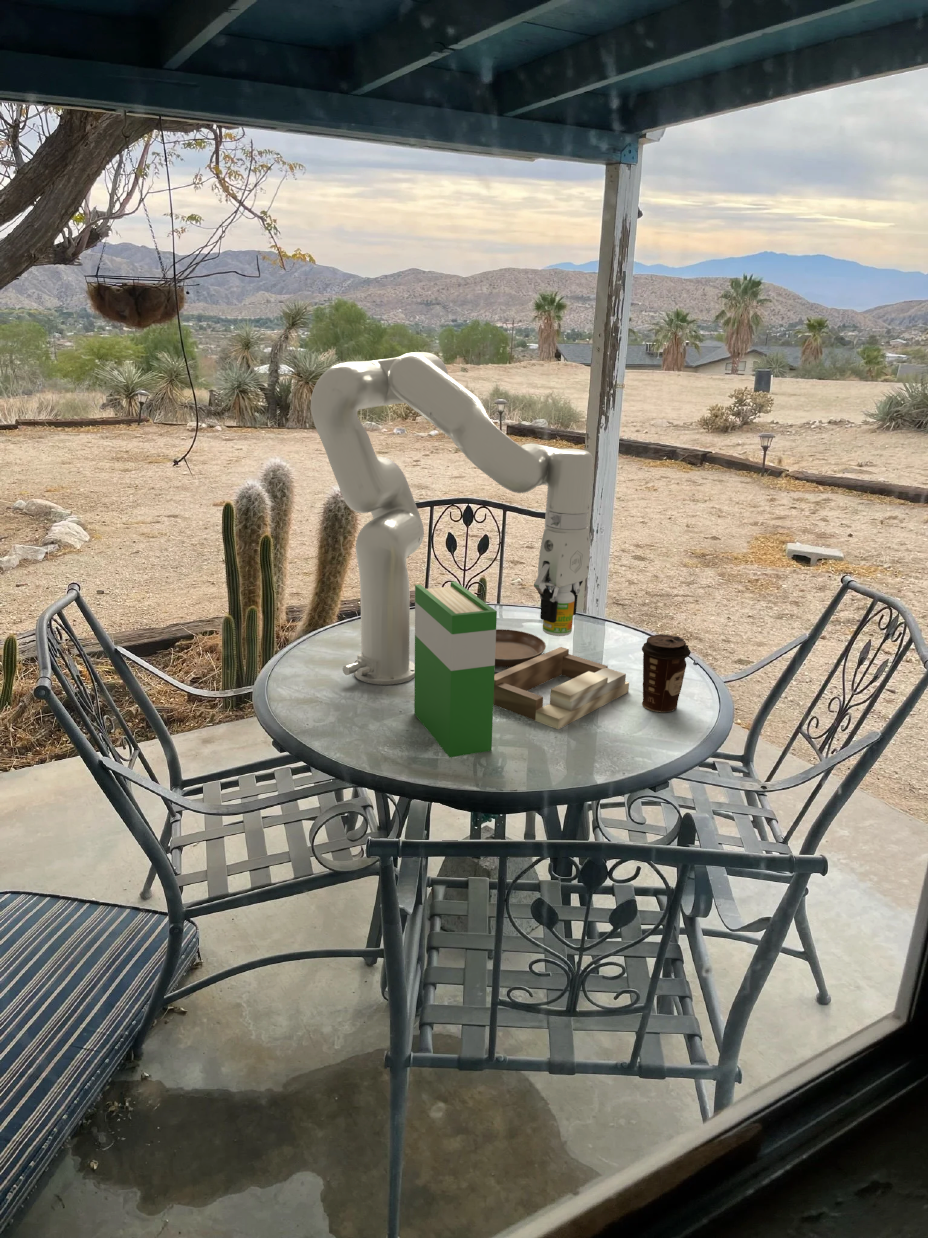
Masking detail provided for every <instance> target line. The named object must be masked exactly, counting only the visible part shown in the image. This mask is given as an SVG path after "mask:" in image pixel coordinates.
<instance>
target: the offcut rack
mask: <svg viewBox="0 0 928 1238" xmlns="http://www.w3.org/2000/svg"><path fill="white" fill-rule="evenodd" d="M569 649H570V648H566V647H563V646H560V647H557V648H554V649H552V650H551V651H550V650H549V651H548V652H545V653H542V654H541V655H540V656H538V657H535V658H533V659H530V660H528V661H526V662H523V663H521V664H518V665H516V666H514V667H508V668H507V669H504V670H502V671H499V672H497V673H494V700H493V706H495V707H498V708H500V707H501V708H500V709H503V710H505V709H506V711H509V712H511V713H513V714H517V715H519V716H521V717H524V718H527V719H529V720H532V721H534V722H538V723H539V724H542V725H546V726H549V727H551V728H553V729H556V730H560V729H561V728H562V729H563V728H564V727H566V726H568V725H570V724H571V723H574V722H576V721H577V720H579V719H581V718H582V717H584V716H587V715H588V714H591V713H592V712H594V711H596V710H597V709H599V708H601V707H603V706H605V705H607V704H609V703H611V702H612V701H615V700H616V699H619V698H620V697H622V696H624V695H625V694H627V693H629V690H630V689H629V687H630V682H628V681H626V680H627V679H626V678H627V674H626V673H624V672H621V671H618V670H615V669H612V668H609V667H608V665H605V664H603V663H600V662H596V661H593V660H590V659H586V658H583V657H579V656H577V655H574V654H570V652H569V651H570V650H569ZM560 675H561V676H563V677H567V678H568V679H569V678H570V679H569V680H567V681H565V682H562V683H560V684H559V685H556V686H555V687H552V688H550V695H549V704H546V705H544V696H542V695H539V694H537V693H534V692H531V690H532V689H534V688H536V687H538V686H541V685H543V684H545V683H547V682H549V681H551V680H555V679H557V678H558V677H560Z"/></svg>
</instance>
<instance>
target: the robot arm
mask: <svg viewBox="0 0 928 1238" xmlns="http://www.w3.org/2000/svg"><path fill="white" fill-rule="evenodd" d="M399 404H406V405H407V406H409V407H410V408H411V409H413V411H415V412H417V413H418V414H419V415H420V416H421V417H423V418H424V419H425V420H427V421H429V423H431V424H432V425H433V426H435V428H437V429H438V430H439V431H441V433H442V432H443V433H444V434H445V435H446V436H448V437H449V438H450V440H452V442H453V444H454V445H455V446H456V447H457V448H458V449H459V450H460V451H461V452H462V453H463V455H464V456H465V457H466V458H467V459H468V460H469V461H470V463H472V464H473V465H474V466H475V467H476V468H477V469H479V470H480V471H481V472H482V473H484V474H485V475H486V476H487V477H489V478H491V479H492V480H493V481H494V482H495V483H497V484H498V485H499V486H501V487H503V488H504V489H506V490H508V491H510V492H512V493H517V494H526V493H529V492H531V491H532V490H533V491H534V489H535V488H537V487H540V486H547V494H546V506H545V515H544V517H545V519H544V529H543V534H542V538H541V544H540V549H539V555H538V564H537V565H538V566H537V578H536V580H535V581H534V583H533V587H534V588H535V590H536V591H537V593H538V595H539V598H540V599H541V604H540V620H542V621H543V620H545V621H548V622H552V623H554V622H556V618H557V606H558V602H557V601H555V600H556V597H557V593H558V590H559V587H564V586H568V585H571V584H572V590H571V591H570V592H571V593H573V594H574V597H575V601H574V611H573V617H574V616H576V614H577V607H578V595H579V594H580V591H581V588H580V587H581V585H582V584H583V581H584V580H586V579H587V578H588V576H589V568H590V549H591V548H590V545H591V544H590V531H589V527H588V523H589V511H590V500H591V492H592V491H591V489H592V481H593V478H592V477H593V471H594V470H593V467H594V457H593V455H592V453H591V452H589V451H588V450H586V449H578V448H555V447H552V446H551V447H550V446H546V445H543V444H537V443H526V444H522V445H520V444H519V443H517V442H516V441H515V440H513V439H512V438H511V437H510V436H508V435H507V434H506V433H505V432H504V431H502V430H501V429H500V428H498V427H497V425H496V424H495V423H494V422H493V421H492V420H491V418H490V417H489V416H488V414H487V412H486V409H485V406H484V404H483V402H482V401H481V399H480V398H479V396H477V395H476V394H474V393H473V392H472V391H471V390H469V389H467V388H466V386H464V385H463V384H461V383H460V382H459V381H457V380H456V379H454V377H452V376H451V375H449V372H448V369H447V367H446V364H445V363H444V361H443V360H442V359H441V358H440V357H439V356H437V355H435V354H433V353H432V352H426V351H425V352H423V351H421V352H419V351H418V352H416V351H415V352H413V351H412V352H407V353H404V354H401V355H400V356H397V357H391V358H390V357H389V358H383V359H375V360H374V359H373V360H364V361H363V360H362V361H361V360H360V361H346V362H345V361H344V362H340V363H337V364H335V365H333V366H331V367H329V368H328V369H326V370H325V371H324V372H323V373H322V374H321V376H320V377H319V378H318V380H317V381H316V383H315V385H314V387H313V390H312V393H311V397H310V412H311V413H310V414H311V416H312V417H311V418H312V421H313V424H314V427H315V429H316V432H317V434H318V437H319V439H320V441H321V444H322V446H323V448H324V451H325V453H326V455H327V456H326V457H327V459H328V462H329V464H330V467H331V469H332V472H333V474H334V477H335V480H336V483H337V485H338V488H339V490H340V493H341V496H342V498H343V501H344V503H345V504H346V506H348V508H349V509H351V510H352V511H354V512H356V513H360V514H367V513H370V514H371V516H372V518H373V519H371V520H369V521H368V522H367V523H366V524H365V525H363V526H362V528H361V530H360V531H359V532H358V534H357V536H356V542H355V554H356V561H357V566H358V573H359V589H360V592H359V593H360V594H359V595H360V636H361V637H360V641H361V642H360V644H361V647H360V648H361V652H360V653H358V654H357V655H356V656H357V658H356V659H357V660H355V661H354V662H353V663H349V664H346V665H343V666H342V673H343V674H344V675H345V676H349V675H352V674H353V675H354V677H356V679H358V680H359V681H361V682H363V683H367V684H372V685H379V686H380V685H381V686H382V685H383V686H384V685H386V686H387V685H389V686H390V685H398V684H402V683H406V682H409V681H411V680H412V679H415V662H413V661H411V660H410V629H411V628H410V625H411V624H410V618H411V617H410V614H411V613H410V610H411V609H410V607H411V605H410V602H411V600H410V597H411V596H410V591H411V590H410V575H409V571H408V567H407V558H408V557H410V556H411V555H413V554H414V553H415V552H416V551H417V550H419V548H420V547H421V546H422V543H423V540H424V537H425V529H424V524H423V521H422V517H421V514H420V512H419V509H418V507H417V503H416V501H415V499H414V496H413V494H412V490H411V487H410V485H409V482H408V480H407V478H406V475H405V474H404V472H403V470H402V469H401V467H400V466H399V465H398V464H397V463H396V462H395V461H394V460H392V459H391V458H388V457H384V456H377V454H376V452H375V449H374V448H373V445H372V441H371V439H370V436H369V433H368V432H367V430H366V428H365V427H364V425H363V424H362V422H361V421H360V419H359V417H358V416H359V415H358V411H359V410H364V409H371V408H376V407H383V406H390V405H391V406H392V405H399ZM550 581H551V582H552V583H550ZM550 586H551V587H553V589H552V592H550V590H551V589H550Z"/></svg>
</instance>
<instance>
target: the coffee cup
mask: <svg viewBox="0 0 928 1238" xmlns="http://www.w3.org/2000/svg"><path fill="white" fill-rule="evenodd" d="M641 651H642V652H643V654H642V655H643V656H642V657H643V659H642V702H641V705H642V707H644V708H645V709H647V710H649V711H652V712H656V713H669V712H674V711H675V710H676V709H677V707H678V702H679V698H680V694H681V691H682V687H683V682H684V678H685V672H686V668H687V662H686V659H687V658H688V657H689V656H690V655H691V654H692V651H691V649H690V648H689V645H688V644H687V643H686V640H685V639H684V638H682V637H680V636H678V635H670V634H660V633H659V634H654V635H650V636H648V637H647V639H646V642H644V643H643V645H642V647H641Z"/></svg>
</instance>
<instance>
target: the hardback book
mask: <svg viewBox="0 0 928 1238" xmlns="http://www.w3.org/2000/svg"><path fill="white" fill-rule="evenodd" d="M414 586H415V587H414V664H415V677H414V695H413V696H414V699H413V700H414V705H413V706H414V709H413V710H414V715H415V716H416V718H417V720H419V722H420V723H421V724H422V725H423V727H424V728H425V729H426V730H427V731H428V733H429V734H430V735H431V737H432V738H433V739H434V740H435V741H436V743H437V744H438V745H439V747H440V748H441V749H442V751H444V753H445V754H446V756H447V757H448V758H455V757H461V756H466V755H474V754H480V753H484V752H485V753H486V752H490V751H493V750H492V747H493V727H494V726H493V725H494V723H493V721H494V705H493V700H494V674H496V671H495V669H496V667H495V647H496V629H497V619H498V618H497V617H498V616H497V615H498V611H497V610H496V609H494V608H493V607H492V606H490V605H489V604H487V603H486V602H485V601H483V600H482V599H481V598H479V597H478V596H476V595H475V594H474V593H472V591H469V590H468V589H467V588H465V586H463V585H461V584H460V583H458V582H457V581H450V586H443V587H442V586H441V587H432V588H430V587H429V588H426V587H424V586H423V585H422V584H414Z"/></svg>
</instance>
